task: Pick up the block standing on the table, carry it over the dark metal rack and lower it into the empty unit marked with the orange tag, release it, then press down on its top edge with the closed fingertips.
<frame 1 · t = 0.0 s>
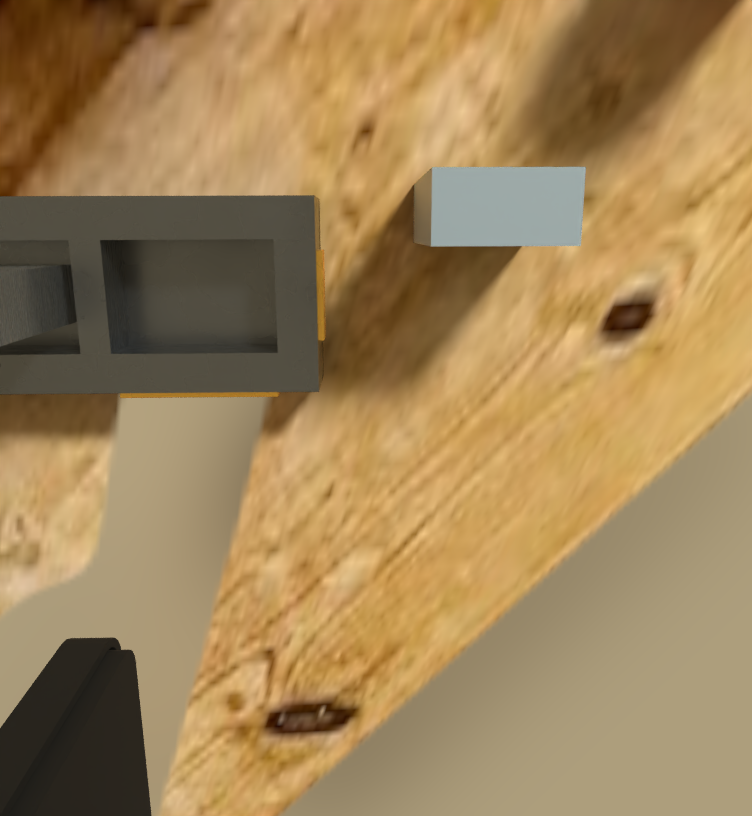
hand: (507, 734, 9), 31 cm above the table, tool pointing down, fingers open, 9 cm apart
rack: (117, 291, 38), on the table
block: (470, 213, 37), on the table
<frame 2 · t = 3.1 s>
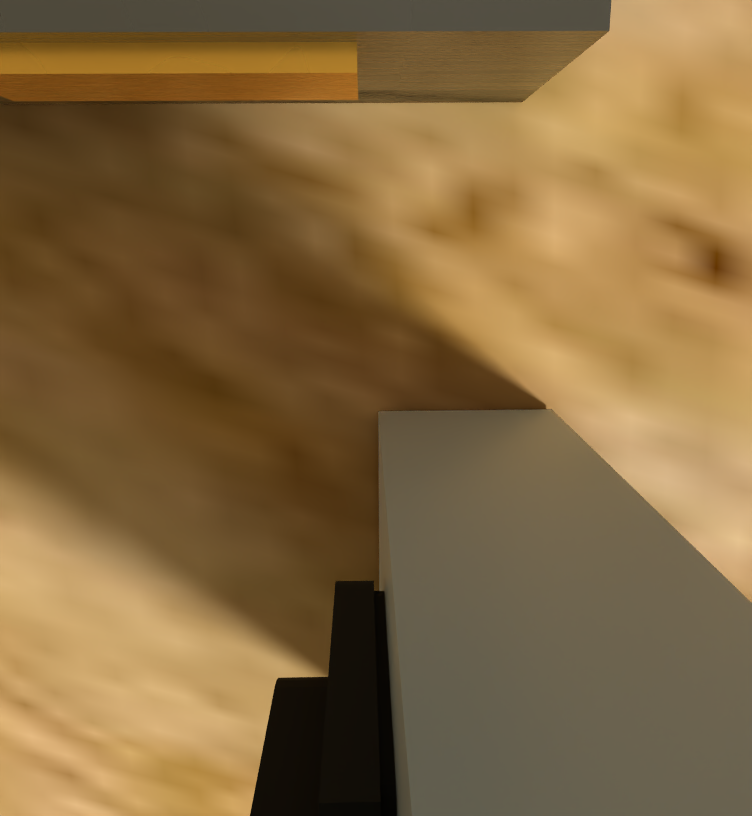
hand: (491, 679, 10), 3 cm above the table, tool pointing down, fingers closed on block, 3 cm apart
block: (460, 568, 13), on the table, touching gripper
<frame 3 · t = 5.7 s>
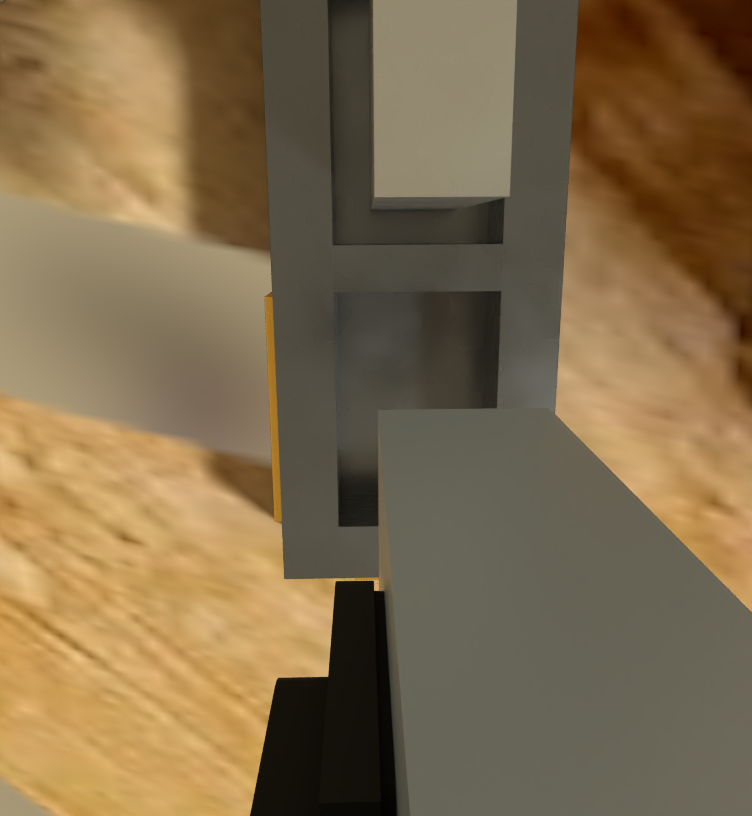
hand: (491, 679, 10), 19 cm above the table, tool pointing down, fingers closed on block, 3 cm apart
rack: (409, 263, 27), on the table
block: (459, 564, 13), point 15 cm above the table, touching gripper
when the fingers open (6 cm above the table, at t = 8.1 s): block drops 2 cm, resting on rack.
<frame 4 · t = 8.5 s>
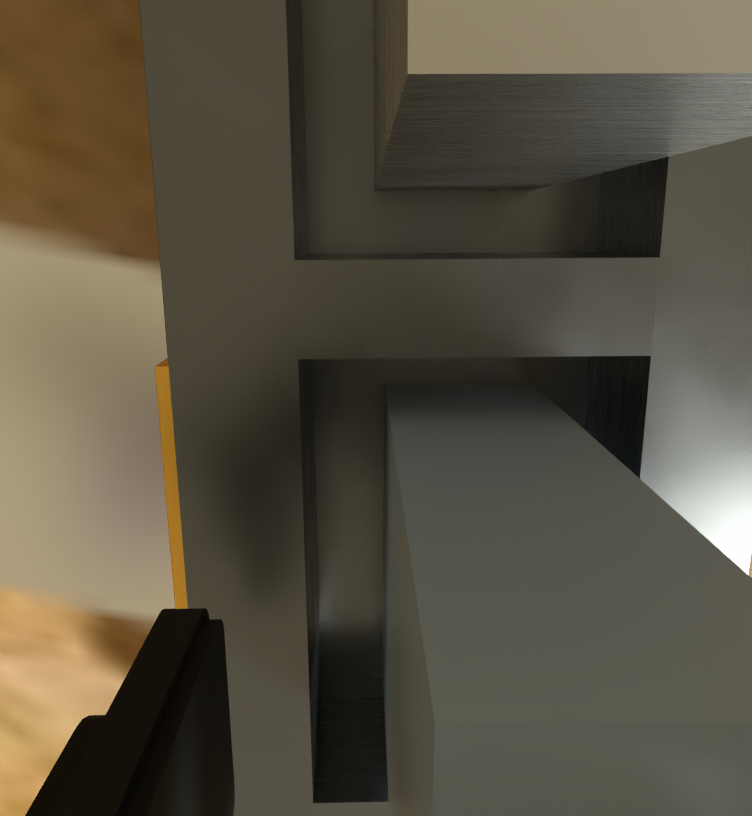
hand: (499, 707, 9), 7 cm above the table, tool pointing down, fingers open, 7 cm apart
rack: (446, 288, 15), on the table
block: (454, 523, 15), point 1 cm above the table, touching rack
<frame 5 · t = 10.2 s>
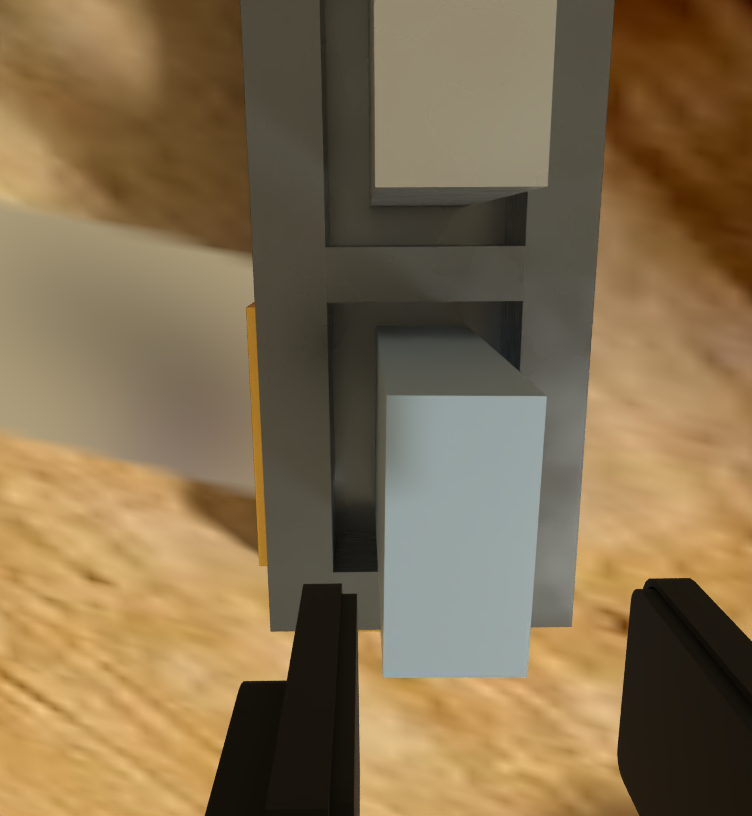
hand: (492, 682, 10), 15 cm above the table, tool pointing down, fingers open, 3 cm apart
rack: (414, 267, 23), on the table
block: (420, 415, 24), point 1 cm above the table, touching rack
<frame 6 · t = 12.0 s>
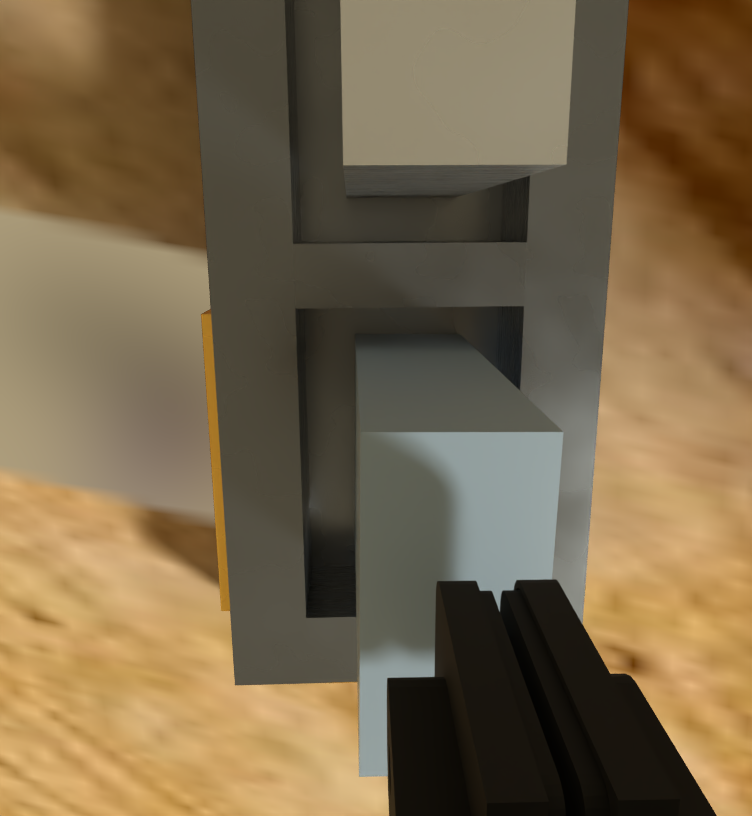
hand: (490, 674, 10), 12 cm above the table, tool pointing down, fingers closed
rack: (398, 266, 21), on the table
block: (405, 434, 21), point 1 cm above the table, touching rack
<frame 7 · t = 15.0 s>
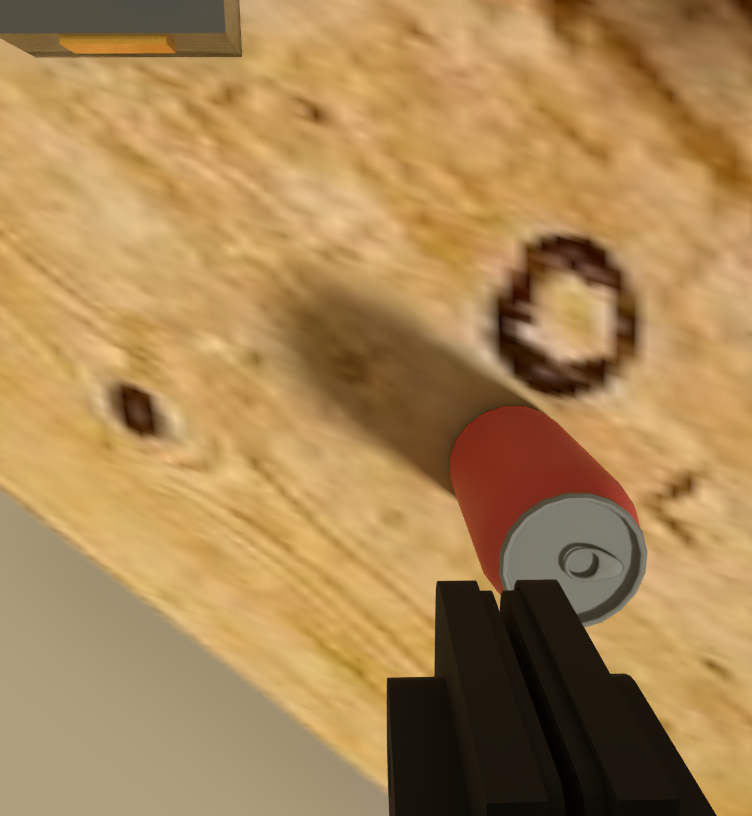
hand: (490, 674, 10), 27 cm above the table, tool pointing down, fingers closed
beer can: (507, 460, 38), on the table
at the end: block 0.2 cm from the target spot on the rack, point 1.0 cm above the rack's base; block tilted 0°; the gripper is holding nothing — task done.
